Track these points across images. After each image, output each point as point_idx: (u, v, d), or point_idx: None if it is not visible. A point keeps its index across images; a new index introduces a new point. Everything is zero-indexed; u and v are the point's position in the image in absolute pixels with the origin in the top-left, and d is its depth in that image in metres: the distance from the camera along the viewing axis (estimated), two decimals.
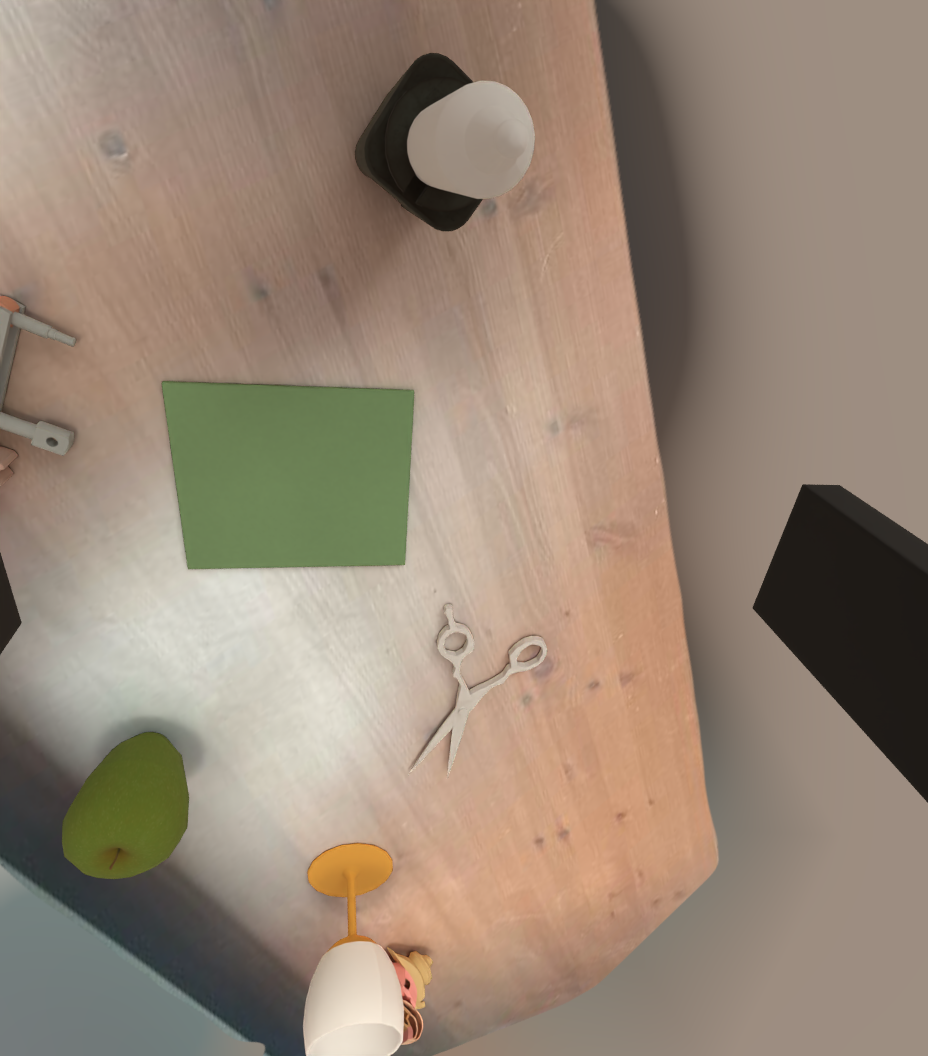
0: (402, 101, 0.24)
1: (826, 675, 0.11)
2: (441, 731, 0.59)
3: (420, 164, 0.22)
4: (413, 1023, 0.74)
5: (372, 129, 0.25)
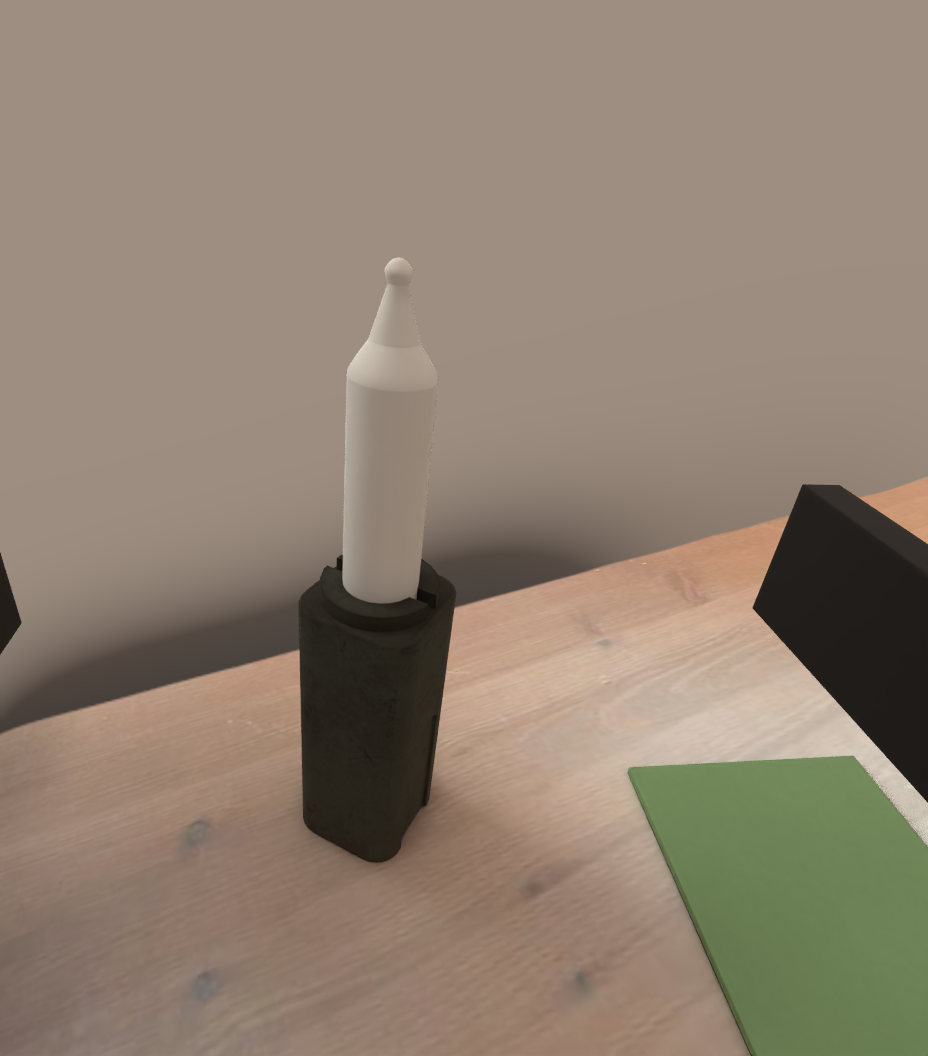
0: (344, 607, 0.23)
1: (826, 675, 0.11)
2: None
3: (407, 523, 0.22)
4: None
5: (372, 642, 0.22)
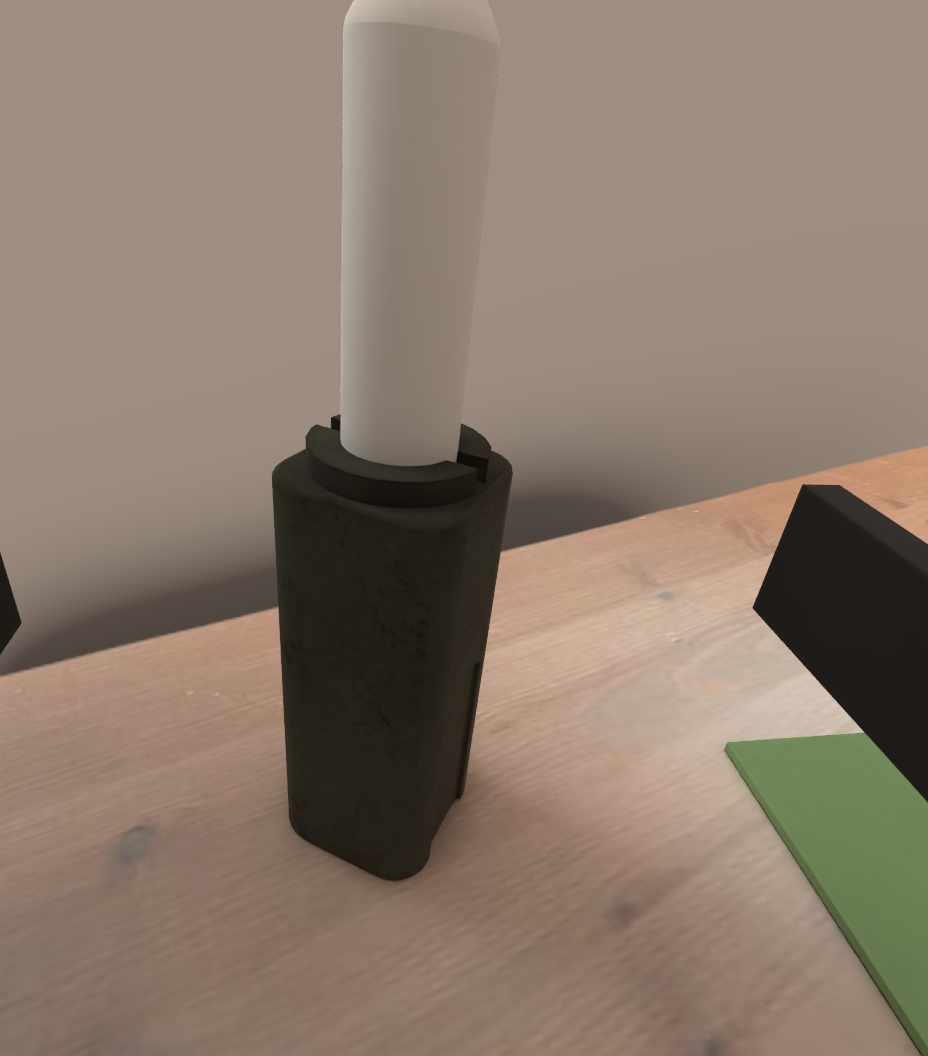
0: (345, 469, 0.14)
1: (825, 675, 0.11)
2: None
3: (447, 318, 0.13)
4: None
5: (392, 520, 0.14)
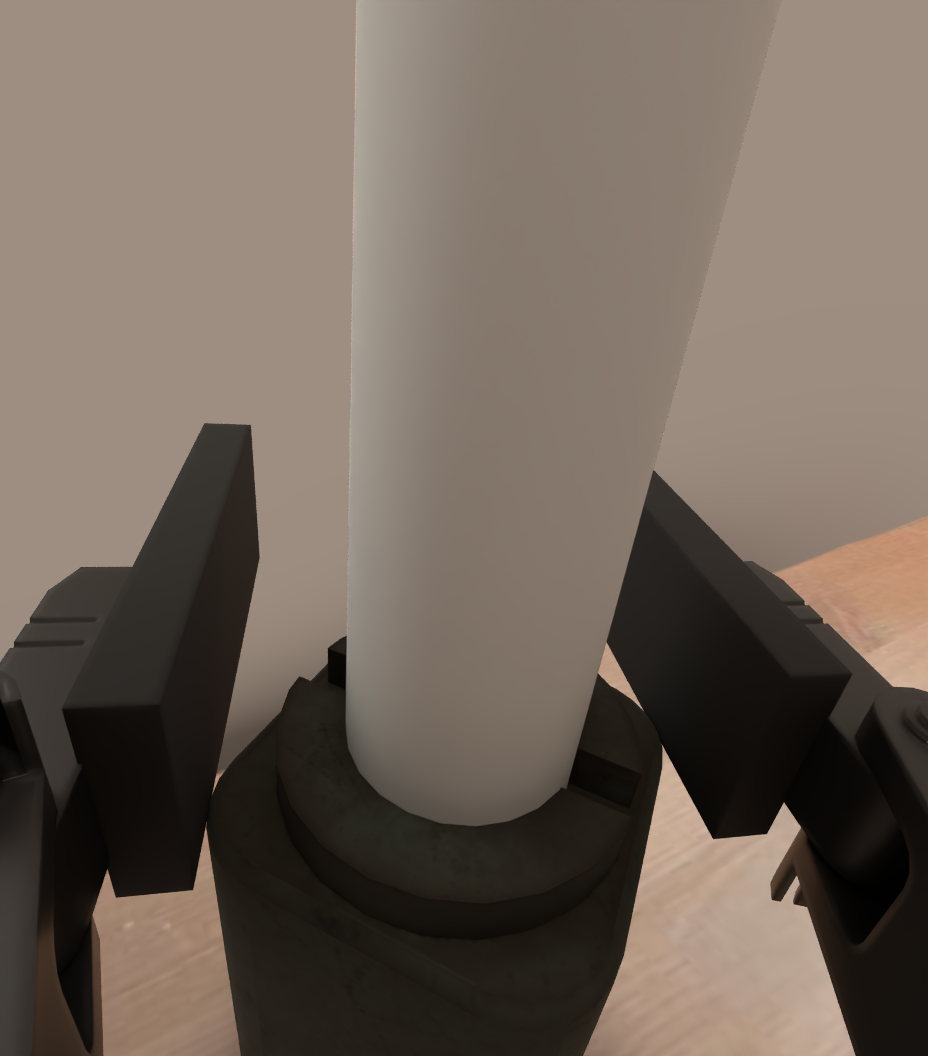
0: (356, 856, 0.06)
1: None
2: None
3: (601, 559, 0.06)
4: None
5: (465, 998, 0.06)
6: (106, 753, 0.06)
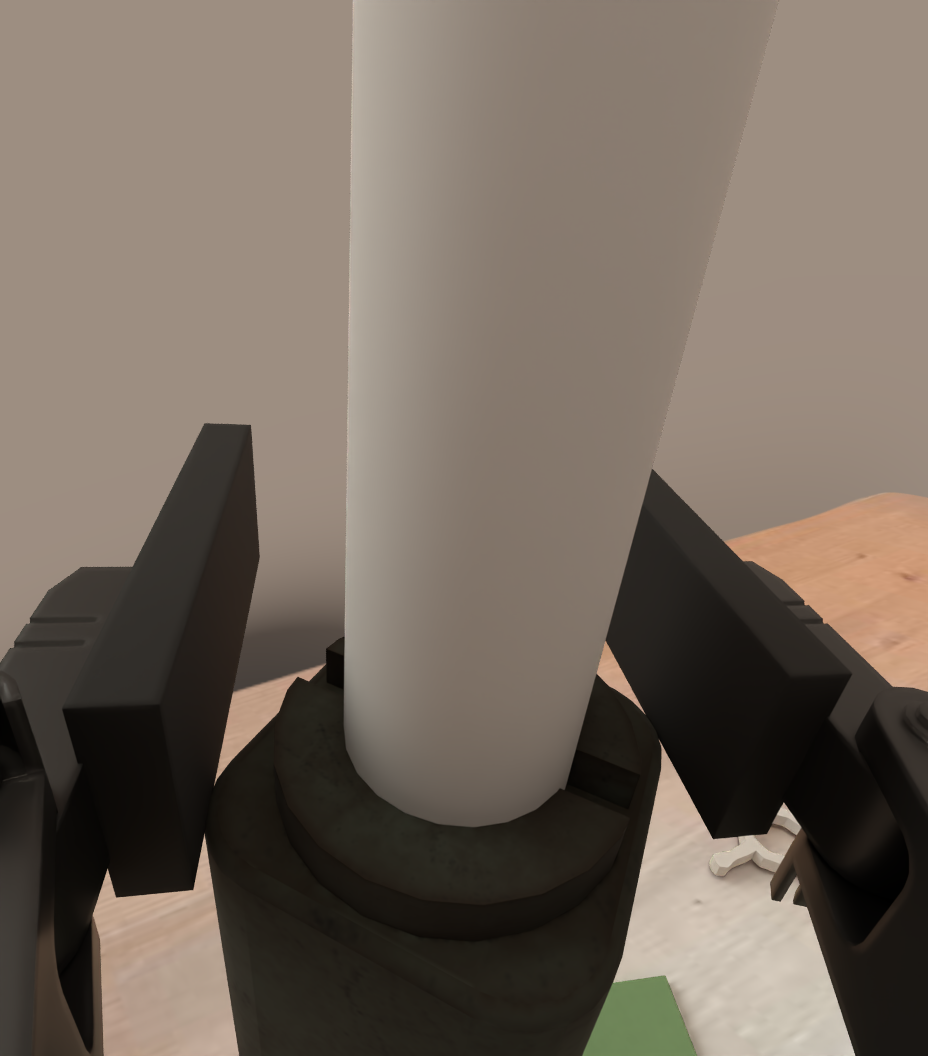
0: (354, 859, 0.06)
1: None
2: None
3: (599, 559, 0.06)
4: None
5: (462, 1000, 0.06)
6: (106, 753, 0.06)
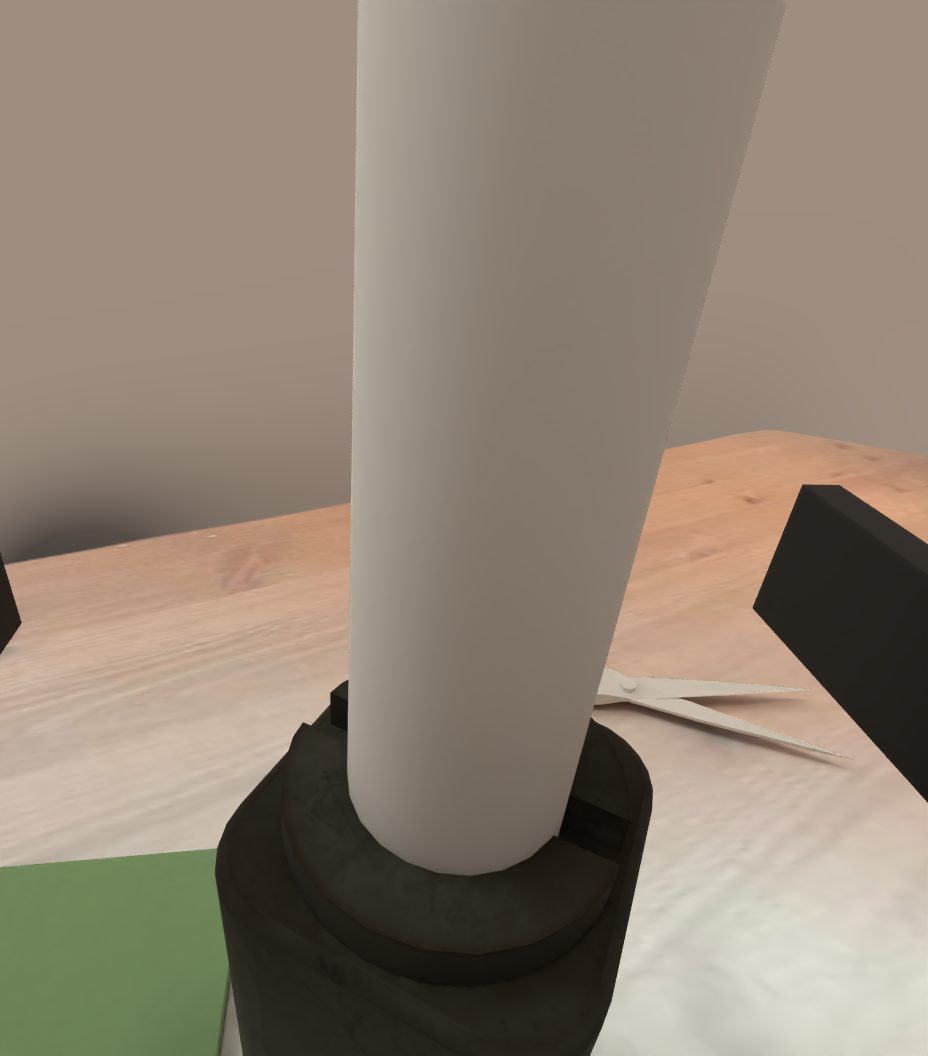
0: (357, 908, 0.07)
1: (826, 675, 0.11)
2: (697, 714, 0.28)
3: (587, 635, 0.06)
4: None
5: (459, 1045, 0.06)
6: None
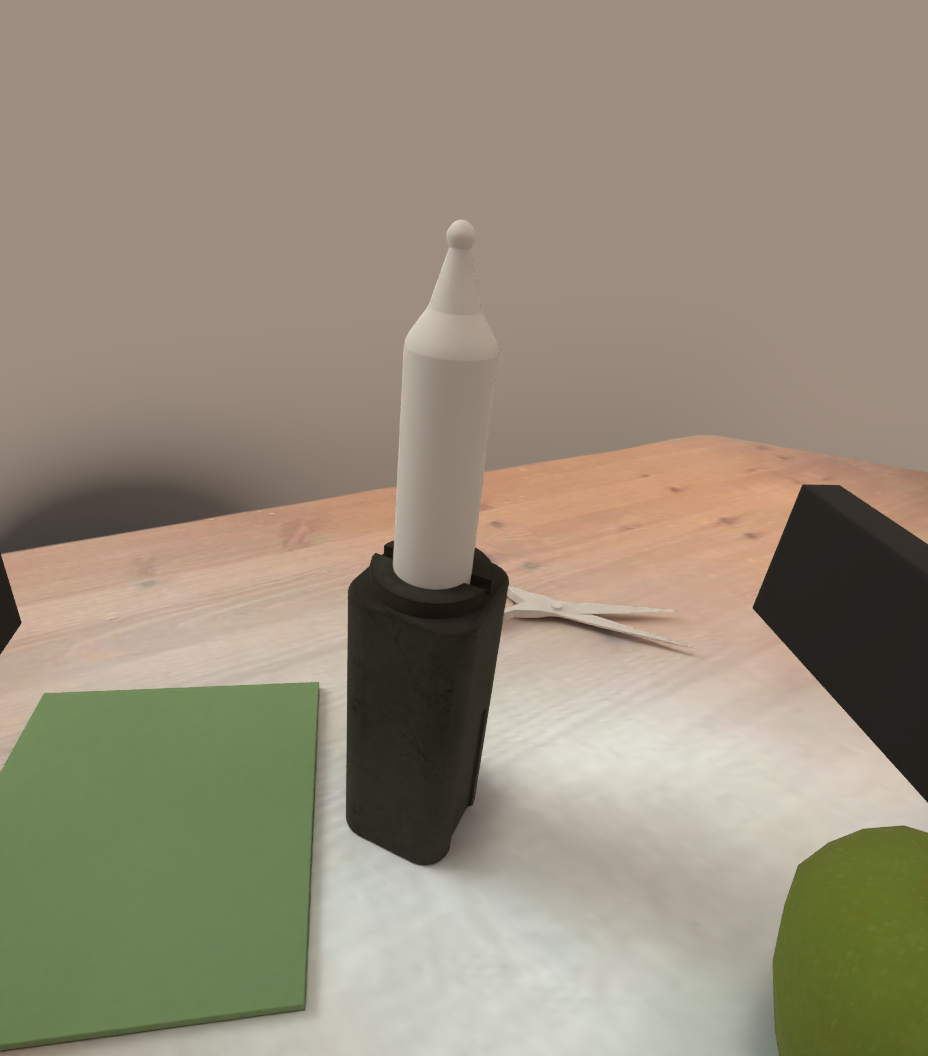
0: (399, 593, 0.22)
1: (826, 675, 0.11)
2: (600, 623, 0.43)
3: (465, 503, 0.21)
4: None
5: (430, 629, 0.21)
6: None
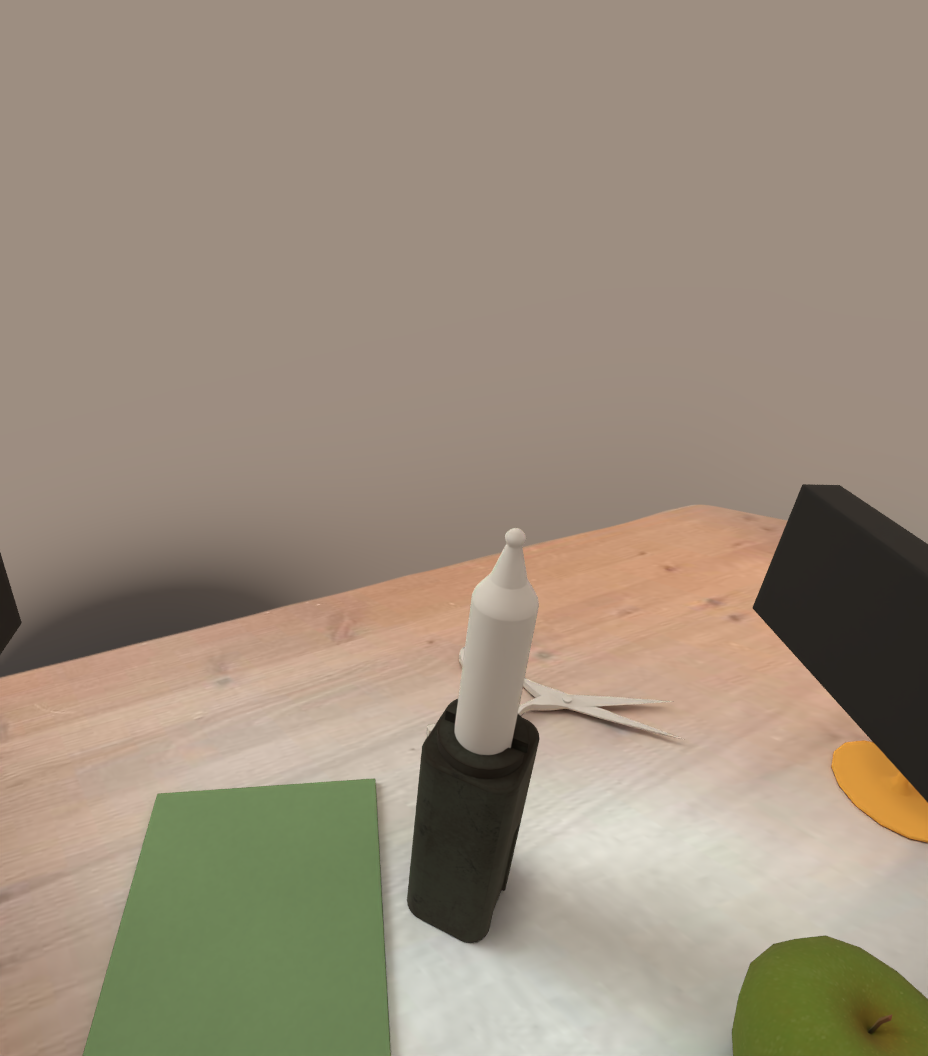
0: (462, 760, 0.30)
1: (826, 675, 0.11)
2: (604, 715, 0.51)
3: (512, 700, 0.29)
4: None
5: (485, 788, 0.29)
6: None
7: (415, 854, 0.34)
